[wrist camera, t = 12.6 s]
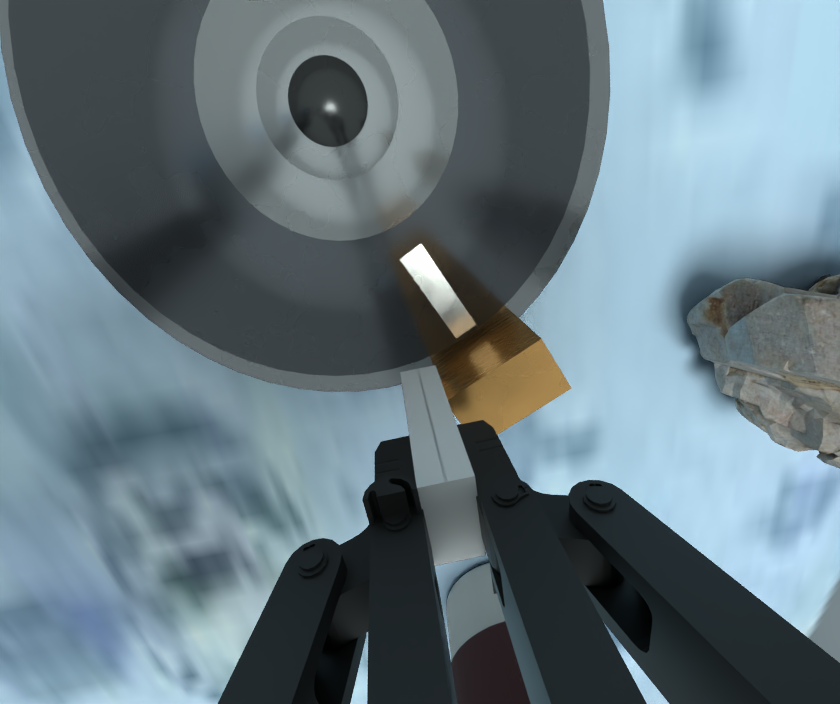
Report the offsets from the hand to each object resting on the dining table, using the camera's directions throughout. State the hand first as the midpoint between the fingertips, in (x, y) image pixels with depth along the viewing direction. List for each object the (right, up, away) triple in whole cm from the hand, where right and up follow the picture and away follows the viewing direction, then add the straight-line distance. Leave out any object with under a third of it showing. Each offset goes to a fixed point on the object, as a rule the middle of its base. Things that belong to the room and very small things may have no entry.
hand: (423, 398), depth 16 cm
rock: (+18, +3, +6) cm, 19 cm away
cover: (-3, +9, -3) cm, 10 cm away
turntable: (-3, +9, -1) cm, 9 cm away
